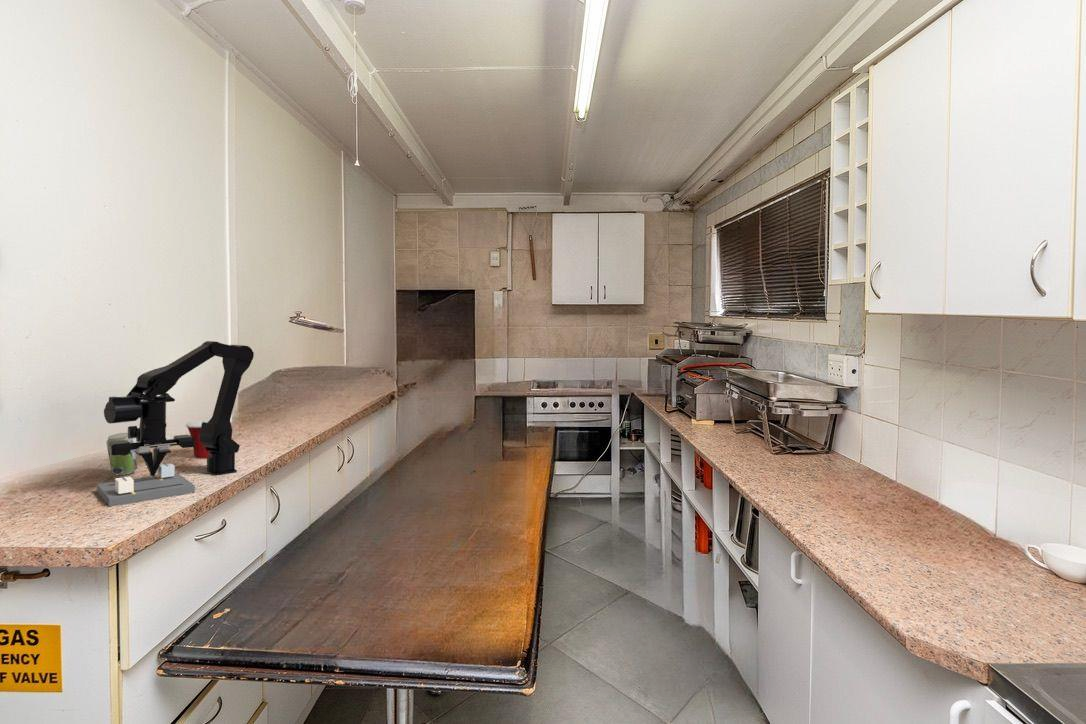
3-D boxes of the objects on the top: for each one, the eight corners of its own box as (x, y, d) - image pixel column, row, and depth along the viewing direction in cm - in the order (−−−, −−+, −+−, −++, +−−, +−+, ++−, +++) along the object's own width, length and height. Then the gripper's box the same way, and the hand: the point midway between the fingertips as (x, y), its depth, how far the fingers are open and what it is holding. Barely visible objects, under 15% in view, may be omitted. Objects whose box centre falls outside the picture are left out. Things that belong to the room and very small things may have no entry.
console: (177, 479, 154) (177, 472, 154) (194, 492, 144) (194, 484, 144) (97, 491, 141) (97, 483, 141) (109, 506, 130) (109, 498, 130)
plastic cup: (177, 457, 179) (177, 422, 179) (208, 451, 189) (208, 418, 189) (199, 462, 175) (200, 425, 174) (230, 455, 185) (230, 421, 185)
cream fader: (129, 488, 137) (130, 476, 137) (133, 491, 134) (133, 479, 134) (115, 490, 135) (115, 478, 135) (118, 493, 132) (118, 481, 132)
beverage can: (142, 471, 161) (142, 432, 160) (120, 478, 154) (121, 436, 153) (123, 470, 162) (123, 430, 161) (100, 476, 154) (100, 435, 154)
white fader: (170, 473, 152) (170, 462, 152) (174, 476, 149) (174, 465, 149) (157, 474, 150) (157, 463, 150) (161, 477, 147) (161, 466, 147)
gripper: (184, 412, 159) (183, 464, 160) (103, 417, 145) (103, 475, 146) (196, 417, 151) (195, 472, 152) (112, 423, 138) (111, 483, 138)
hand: (152, 475), depth 147 cm, fingers closed
